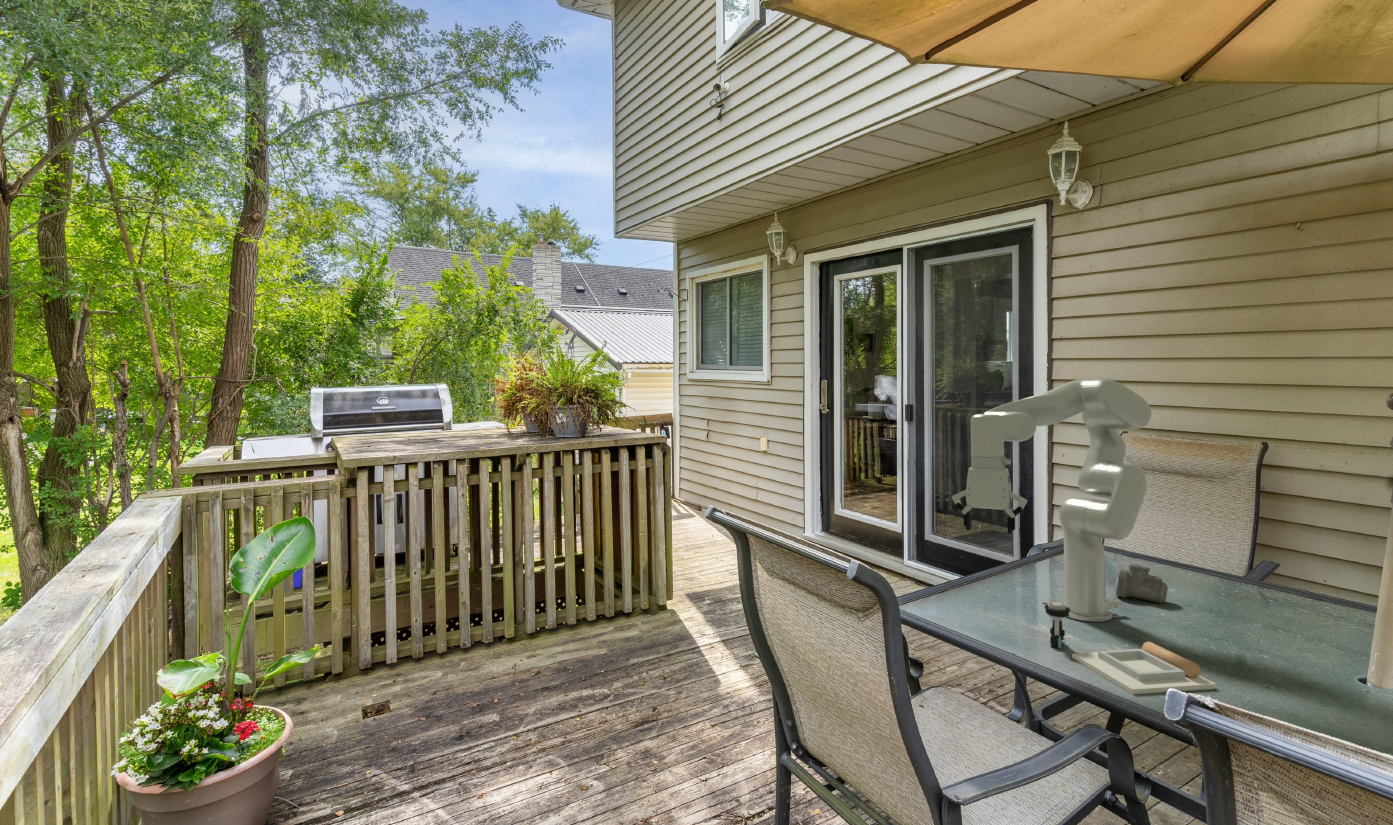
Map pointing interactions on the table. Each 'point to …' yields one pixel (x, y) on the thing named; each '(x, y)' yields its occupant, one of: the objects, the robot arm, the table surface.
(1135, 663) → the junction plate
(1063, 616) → the push button
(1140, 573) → the pipe fitting
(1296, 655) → the table surface
